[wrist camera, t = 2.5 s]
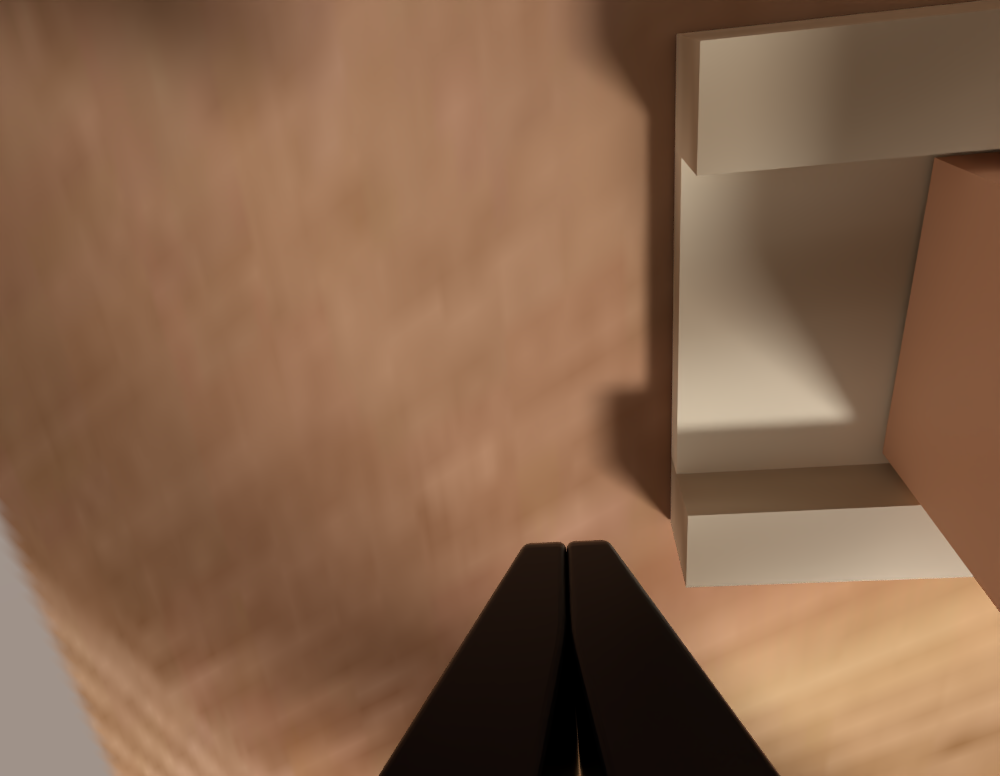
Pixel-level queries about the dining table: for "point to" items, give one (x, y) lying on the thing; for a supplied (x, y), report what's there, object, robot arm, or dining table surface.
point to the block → (955, 366)
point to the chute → (809, 283)
